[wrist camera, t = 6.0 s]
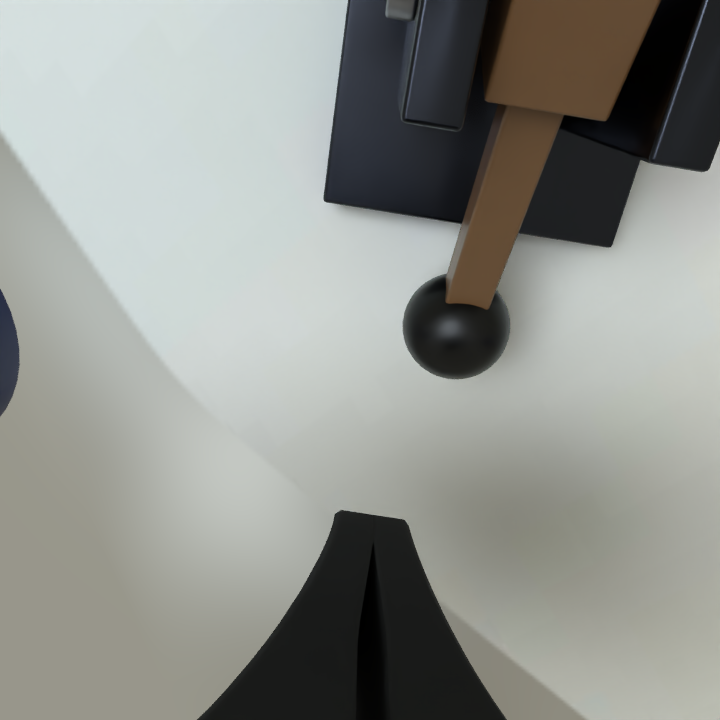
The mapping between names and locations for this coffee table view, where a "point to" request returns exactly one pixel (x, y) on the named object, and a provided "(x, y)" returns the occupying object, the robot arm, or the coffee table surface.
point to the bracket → (475, 115)
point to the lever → (519, 159)
